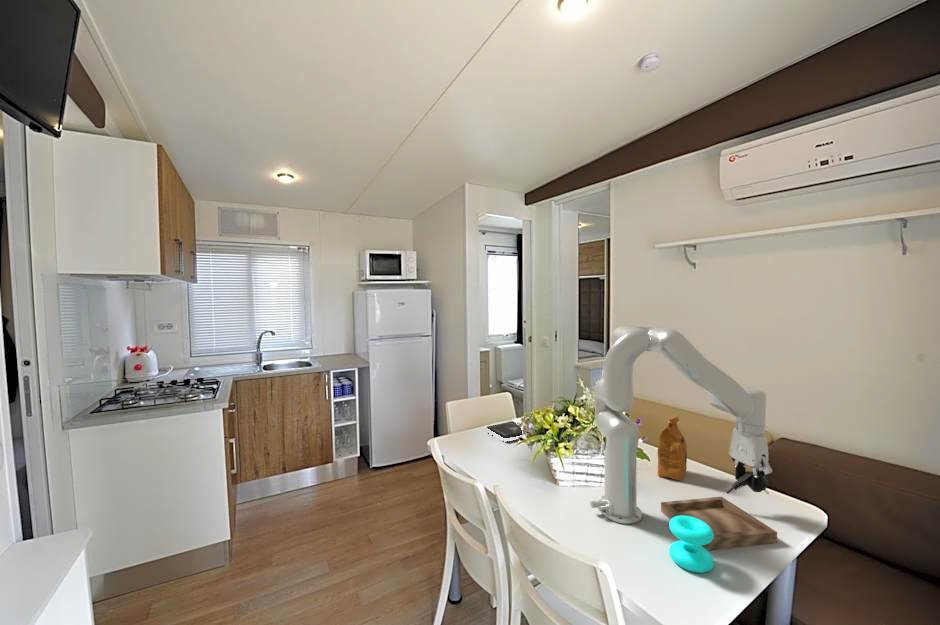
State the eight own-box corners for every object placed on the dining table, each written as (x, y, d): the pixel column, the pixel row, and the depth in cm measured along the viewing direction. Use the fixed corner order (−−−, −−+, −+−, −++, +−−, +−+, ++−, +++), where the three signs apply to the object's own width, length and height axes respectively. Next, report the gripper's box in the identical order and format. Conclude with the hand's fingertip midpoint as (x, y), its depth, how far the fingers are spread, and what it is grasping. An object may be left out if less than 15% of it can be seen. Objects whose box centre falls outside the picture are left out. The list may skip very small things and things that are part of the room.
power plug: (720, 486, 126) (751, 464, 123) (737, 504, 125) (768, 482, 123) (728, 495, 120) (760, 472, 118) (746, 513, 119) (779, 491, 117)
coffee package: (691, 472, 149) (691, 417, 148) (682, 484, 140) (681, 425, 139) (664, 465, 156) (663, 412, 155) (653, 476, 147) (653, 419, 146)
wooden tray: (706, 550, 103) (706, 539, 102) (661, 511, 122) (660, 502, 122) (777, 542, 105) (777, 531, 105) (721, 505, 125) (721, 496, 125)
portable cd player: (532, 437, 193) (532, 429, 192) (505, 444, 184) (505, 435, 184) (513, 428, 207) (513, 421, 207) (487, 434, 198) (486, 426, 198)
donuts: (713, 519, 100) (714, 540, 91) (713, 557, 100) (714, 580, 92) (670, 509, 105) (667, 528, 97) (670, 544, 105) (667, 566, 97)
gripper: (718, 419, 128) (716, 472, 129) (763, 437, 111) (762, 498, 112) (738, 419, 129) (736, 471, 130) (786, 436, 112) (784, 497, 113)
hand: (748, 483), depth 121 cm, fingers closed on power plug, 5 cm apart
